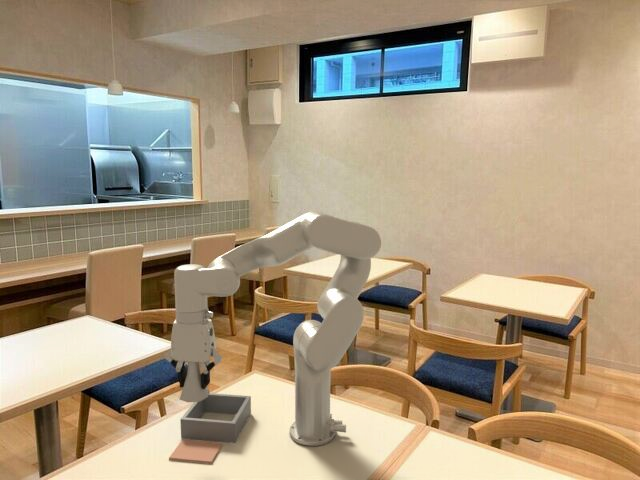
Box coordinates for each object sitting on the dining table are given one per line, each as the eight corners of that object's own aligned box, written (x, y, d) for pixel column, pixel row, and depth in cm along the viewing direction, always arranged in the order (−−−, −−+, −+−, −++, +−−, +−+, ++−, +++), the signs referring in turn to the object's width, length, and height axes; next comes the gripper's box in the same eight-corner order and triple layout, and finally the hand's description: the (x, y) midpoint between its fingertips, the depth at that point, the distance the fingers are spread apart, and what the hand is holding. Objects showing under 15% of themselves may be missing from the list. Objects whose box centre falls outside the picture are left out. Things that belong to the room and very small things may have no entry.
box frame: (251, 413, 138) (250, 396, 137) (235, 442, 123) (234, 423, 122) (202, 409, 139) (201, 392, 139) (181, 438, 125) (180, 419, 124)
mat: (222, 444, 122) (222, 442, 122) (211, 463, 114) (211, 461, 114) (182, 441, 123) (182, 439, 123) (169, 459, 116) (169, 457, 115)
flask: (201, 405, 112) (200, 365, 111) (174, 401, 114) (172, 363, 112) (214, 391, 119) (213, 354, 118) (188, 388, 121) (186, 351, 119)
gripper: (230, 312, 116) (232, 381, 119) (165, 309, 118) (168, 377, 121) (220, 322, 108) (222, 395, 111) (151, 318, 111) (154, 390, 113)
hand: (194, 385), depth 116 cm, fingers closed on flask, 4 cm apart
